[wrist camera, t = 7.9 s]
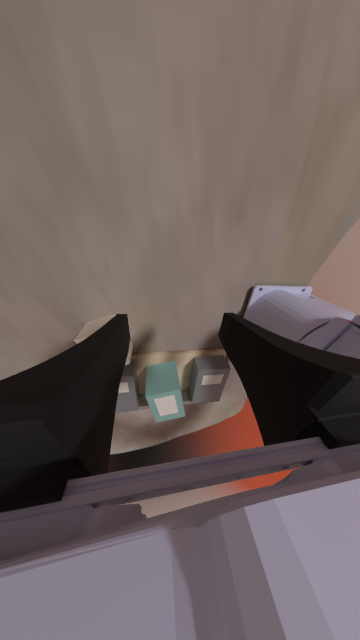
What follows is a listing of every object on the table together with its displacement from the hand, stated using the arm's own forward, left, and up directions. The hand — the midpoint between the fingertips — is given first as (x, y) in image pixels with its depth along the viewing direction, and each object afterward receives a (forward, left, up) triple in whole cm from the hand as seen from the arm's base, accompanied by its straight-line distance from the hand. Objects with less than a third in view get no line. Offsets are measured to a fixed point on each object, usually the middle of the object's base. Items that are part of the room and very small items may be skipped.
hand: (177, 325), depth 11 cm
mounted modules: (0, +18, -10) cm, 21 cm away
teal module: (0, +18, -9) cm, 20 cm away
